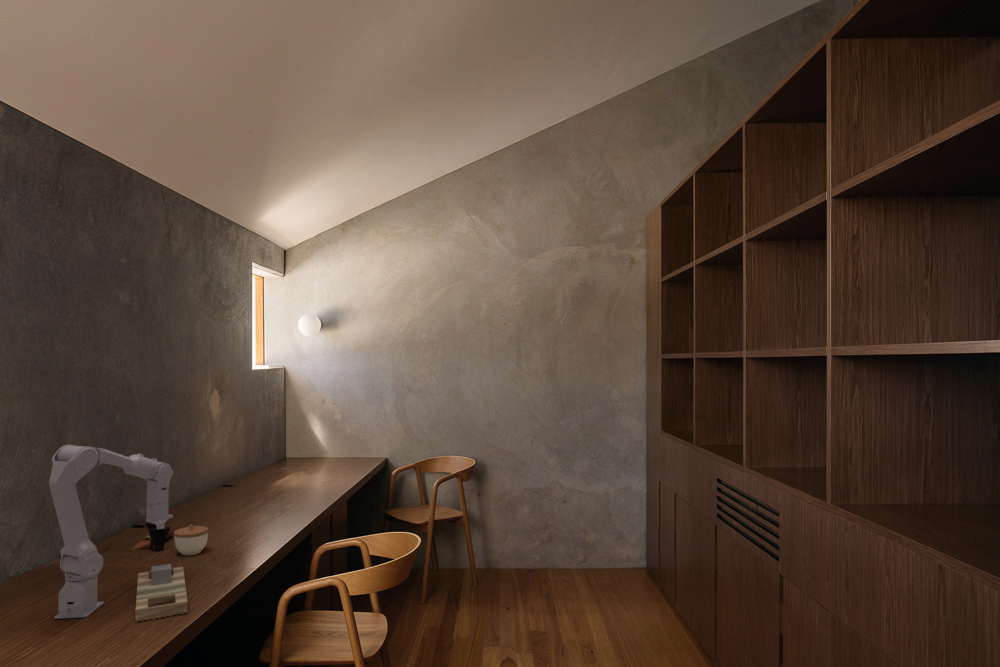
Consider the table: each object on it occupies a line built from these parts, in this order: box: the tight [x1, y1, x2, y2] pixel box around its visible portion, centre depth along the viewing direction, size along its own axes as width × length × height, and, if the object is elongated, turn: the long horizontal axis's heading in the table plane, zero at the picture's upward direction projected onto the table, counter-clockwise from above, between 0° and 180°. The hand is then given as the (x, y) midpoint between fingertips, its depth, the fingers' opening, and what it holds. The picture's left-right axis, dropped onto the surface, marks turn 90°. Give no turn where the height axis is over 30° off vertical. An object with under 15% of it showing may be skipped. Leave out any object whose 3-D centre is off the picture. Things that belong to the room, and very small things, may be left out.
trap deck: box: [134, 565, 189, 623], centre depth 182 cm, size 32×12×3 cm, turn 28°
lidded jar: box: [173, 524, 209, 556], centre depth 223 cm, size 11×11×9 cm
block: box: [151, 563, 172, 586], centre depth 186 cm, size 5×5×4 cm
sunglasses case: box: [129, 528, 174, 551], centre depth 232 cm, size 18×7×7 cm
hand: (157, 548), depth 194 cm, fingers open, 7 cm apart
